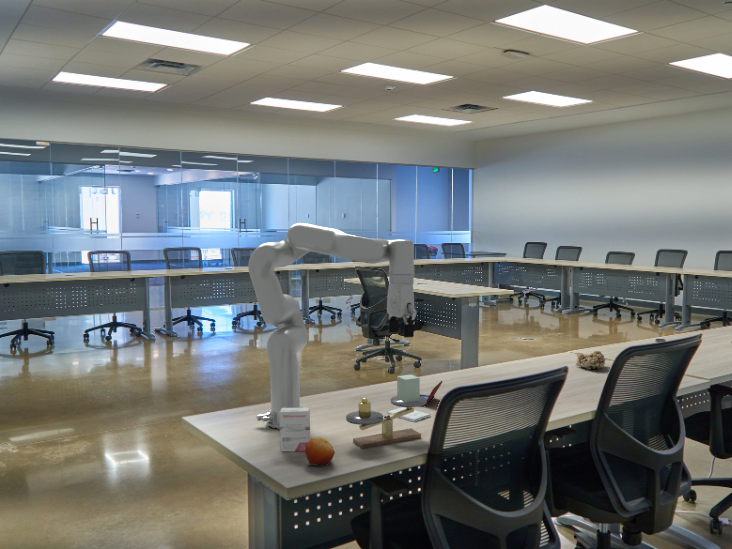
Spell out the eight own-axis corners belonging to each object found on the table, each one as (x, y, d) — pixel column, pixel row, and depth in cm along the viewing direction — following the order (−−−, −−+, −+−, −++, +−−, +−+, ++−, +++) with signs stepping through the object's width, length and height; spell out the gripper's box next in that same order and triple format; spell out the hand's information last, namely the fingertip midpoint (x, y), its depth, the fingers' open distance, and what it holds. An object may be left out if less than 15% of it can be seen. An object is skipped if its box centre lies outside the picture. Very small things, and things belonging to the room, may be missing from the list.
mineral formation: (605, 365, 279) (611, 370, 265) (575, 369, 282) (580, 375, 267) (601, 348, 280) (608, 352, 265) (572, 352, 282) (576, 357, 267)
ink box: (311, 445, 179) (310, 406, 178) (310, 451, 174) (309, 411, 173) (281, 446, 178) (281, 406, 178) (279, 452, 174) (279, 411, 173)
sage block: (405, 402, 182) (405, 379, 181) (397, 398, 186) (397, 376, 186) (419, 400, 184) (419, 377, 183) (411, 396, 188) (411, 374, 188)
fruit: (298, 454, 168) (313, 429, 168) (323, 467, 169) (337, 442, 169) (297, 465, 160) (313, 439, 160) (323, 479, 161) (338, 453, 160)
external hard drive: (403, 411, 214) (430, 418, 205) (387, 416, 208) (414, 423, 200) (403, 406, 214) (430, 413, 205) (387, 411, 208) (414, 418, 199)
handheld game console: (415, 397, 231) (415, 377, 231) (443, 399, 227) (443, 380, 227) (405, 405, 220) (405, 385, 219) (434, 408, 216) (434, 388, 215)
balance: (356, 453, 172) (355, 405, 171) (340, 441, 182) (339, 395, 181) (433, 438, 183) (433, 393, 182) (415, 428, 193) (414, 385, 192)
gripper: (378, 278, 192) (377, 331, 194) (404, 282, 177) (403, 340, 178) (399, 277, 196) (398, 329, 197) (426, 281, 180) (425, 338, 181)
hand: (401, 334), depth 187 cm, fingers open, 9 cm apart
